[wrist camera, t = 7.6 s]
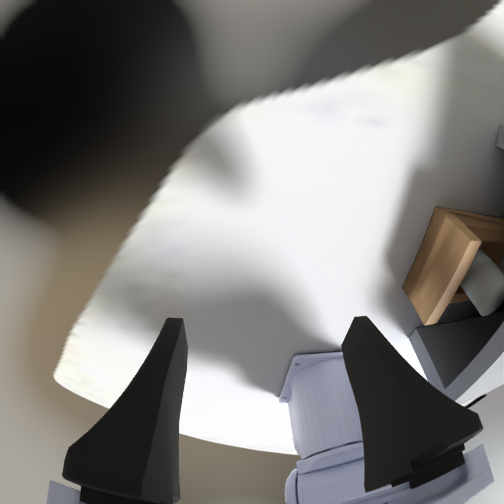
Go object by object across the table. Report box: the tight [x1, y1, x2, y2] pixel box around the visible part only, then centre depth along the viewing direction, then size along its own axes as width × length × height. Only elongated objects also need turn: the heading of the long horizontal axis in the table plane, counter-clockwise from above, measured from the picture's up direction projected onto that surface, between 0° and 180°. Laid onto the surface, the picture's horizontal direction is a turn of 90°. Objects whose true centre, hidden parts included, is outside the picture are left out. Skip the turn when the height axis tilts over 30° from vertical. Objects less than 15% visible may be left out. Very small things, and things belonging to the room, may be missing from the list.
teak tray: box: [402, 207, 504, 326], centre depth 16 cm, size 7×16×6 cm, turn 86°
